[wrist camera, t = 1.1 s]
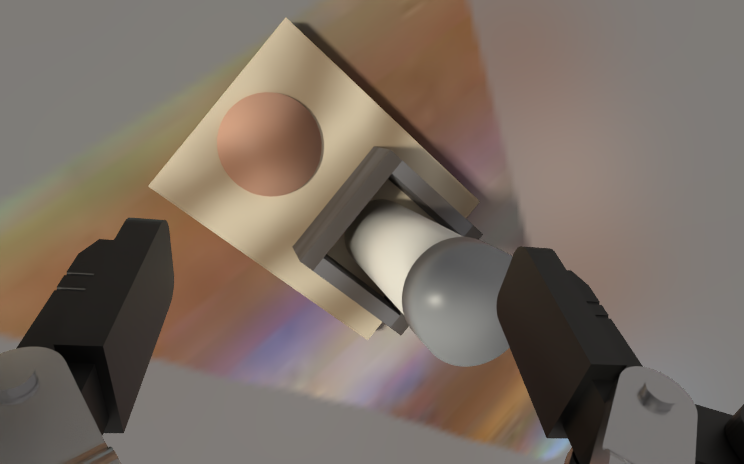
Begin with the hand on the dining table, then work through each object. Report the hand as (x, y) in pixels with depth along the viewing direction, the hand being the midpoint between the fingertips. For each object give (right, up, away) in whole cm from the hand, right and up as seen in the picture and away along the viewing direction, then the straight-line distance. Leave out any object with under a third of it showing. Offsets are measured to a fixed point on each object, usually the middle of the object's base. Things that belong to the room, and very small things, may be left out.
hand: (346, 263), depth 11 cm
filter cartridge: (+1, +1, +23) cm, 23 cm away
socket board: (-3, +4, +22) cm, 23 cm away
